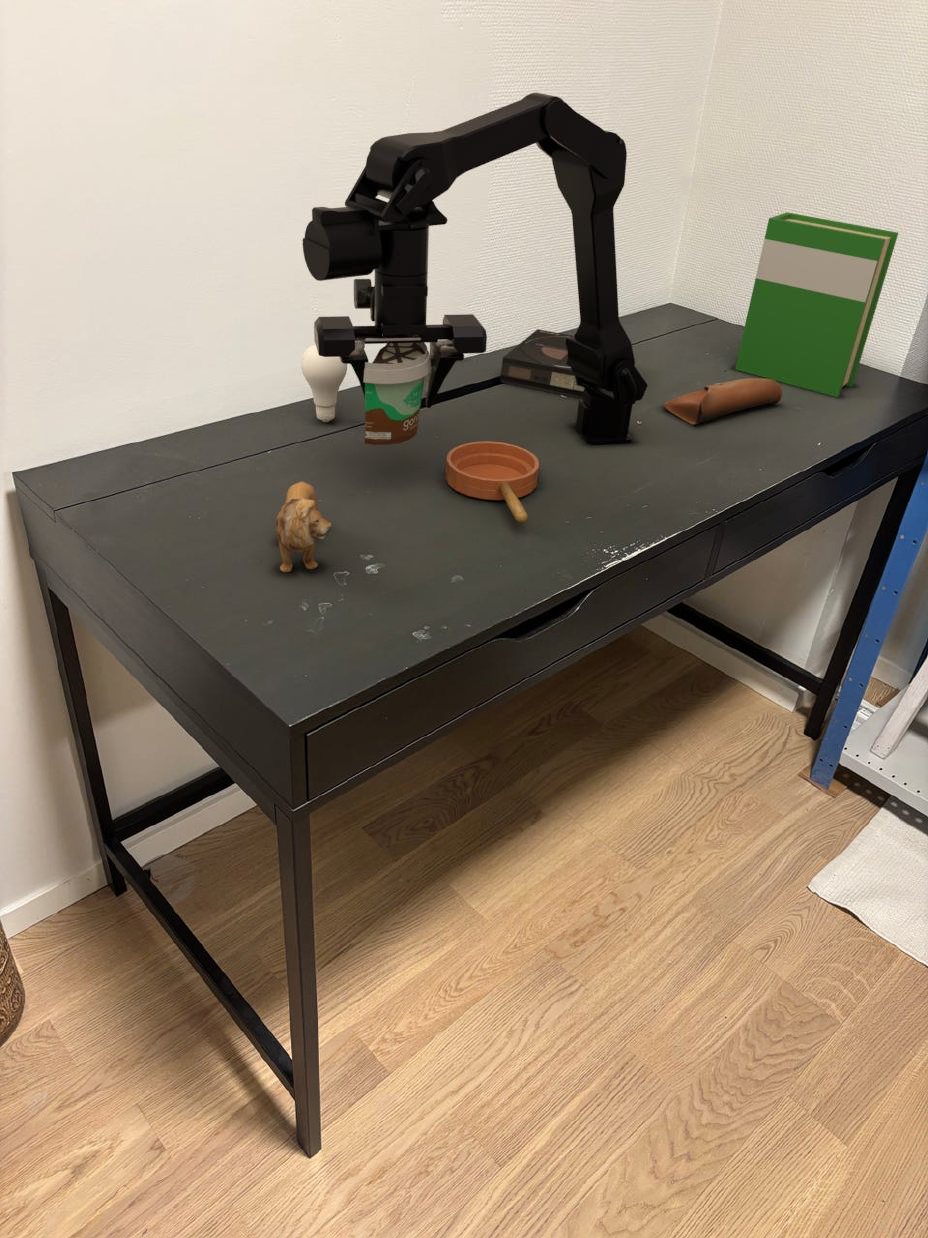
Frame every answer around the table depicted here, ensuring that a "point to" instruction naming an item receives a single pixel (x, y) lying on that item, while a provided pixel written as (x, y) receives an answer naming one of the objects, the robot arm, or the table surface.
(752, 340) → the hardback book
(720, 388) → the sunglasses case
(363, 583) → the table surface
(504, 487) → the pan handle
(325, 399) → the lightbulb
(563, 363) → the portable cd player
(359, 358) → the robot arm
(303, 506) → the lion figurine
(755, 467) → the table surface
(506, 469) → the pan
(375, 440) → the food container
